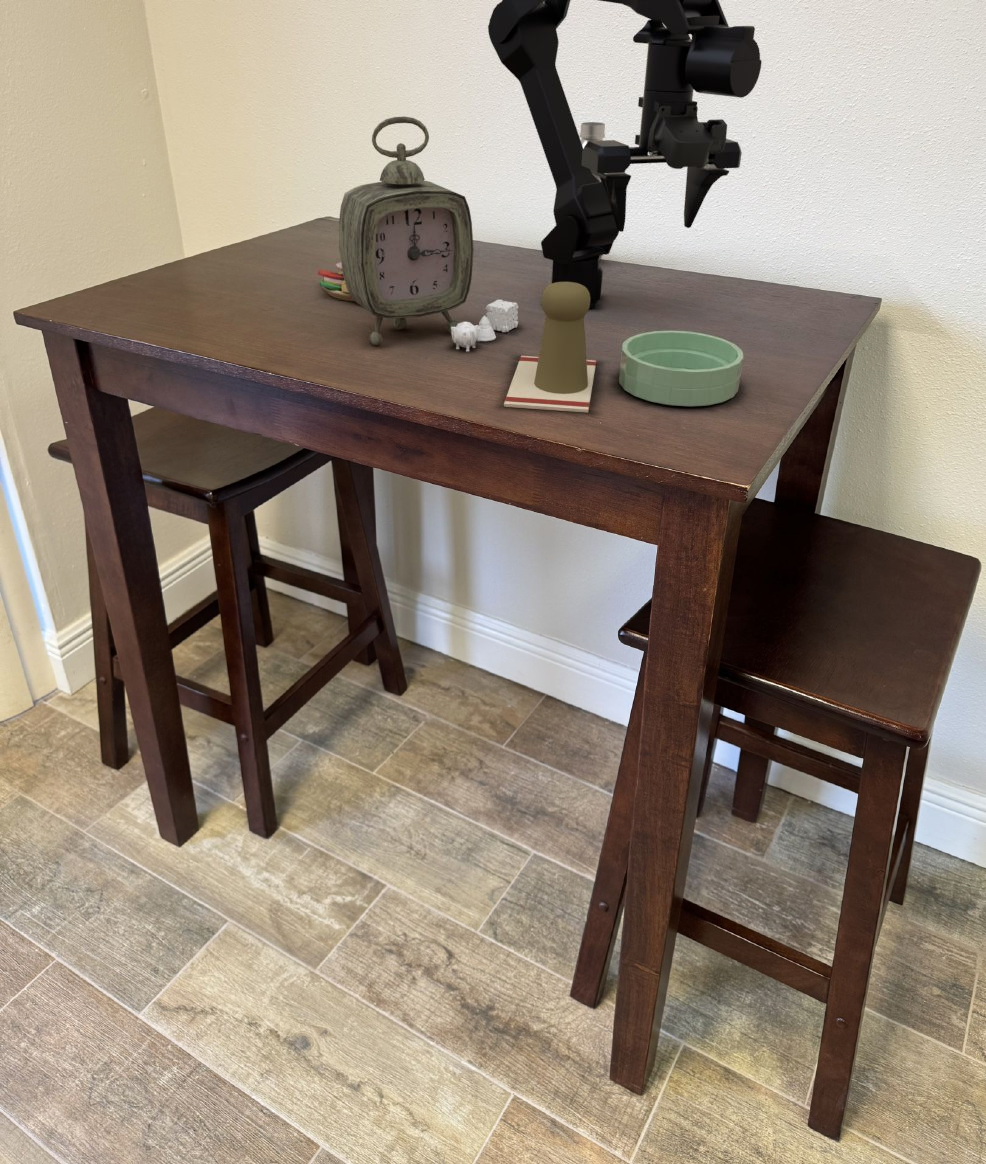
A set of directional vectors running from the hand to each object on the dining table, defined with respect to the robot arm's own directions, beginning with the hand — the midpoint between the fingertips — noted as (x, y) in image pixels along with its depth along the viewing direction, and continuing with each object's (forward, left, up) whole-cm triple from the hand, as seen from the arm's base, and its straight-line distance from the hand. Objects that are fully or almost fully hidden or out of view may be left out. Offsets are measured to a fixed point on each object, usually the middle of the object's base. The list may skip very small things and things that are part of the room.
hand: (654, 228), depth 118 cm
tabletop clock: (-30, -10, -12) cm, 34 cm away
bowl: (+4, -22, -12) cm, 25 cm away
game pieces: (-20, -10, -12) cm, 25 cm away
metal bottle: (-10, +30, -12) cm, 34 cm away
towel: (-10, -24, -12) cm, 29 cm away
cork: (-9, -25, -12) cm, 29 cm away
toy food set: (-40, +7, -12) cm, 42 cm away
